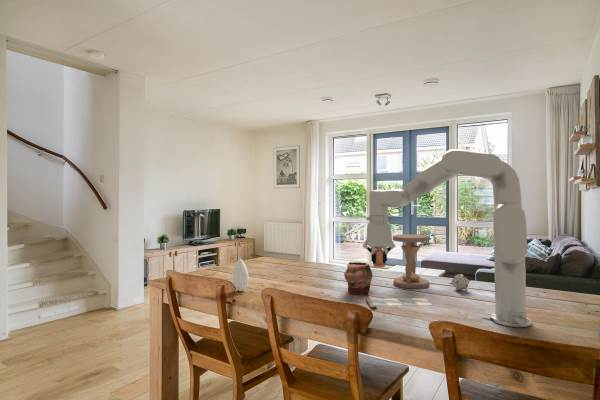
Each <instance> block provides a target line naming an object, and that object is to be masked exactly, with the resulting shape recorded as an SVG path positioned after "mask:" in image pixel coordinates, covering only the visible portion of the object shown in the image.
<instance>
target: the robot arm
mask: <svg viewBox="0 0 600 400" xmlns="http://www.w3.org/2000/svg"><path fill="white" fill-rule="evenodd" d="M458 175H464V176H468V177H469V176H471V177H477V178H482V179H486V180H488V181H490V183H491V186H492V194H493V195H492V196H493V211H492V223H493V225H492V226H493V242H494V243H493V251H494V252H493V253H494V255H493V257H494V312H493V313H491V314H490V320H491V321H492V322H494V323H496V324H498V325H502V326H506V327H514V328H527V327H529V326H531V325H532V320H531V318H529V317H527V295H526V292H527V290H526V289H527V288H526V285H527V284H526V278H527V277H526V274H527V273H526V257H527V253H528V233H527V218H526V217H527V216H526V213H525V211H524V209H523V206H522V205H523V204H522V194H521V191H522V190H521V184H520V179H519V176H518V174H517V172H516V170H515V169H514V168H513V167H512V166H511V165H510V164H508V163H507V162H505V161H504V160H502V159H501V158H500V156H498V155H496V154H493V153H486V152H478V151H472V150H463V149H449V150H447V151H446V152H444V153H443V155H442V157H441V158H440V159H438V160H437V161H435V162H433V163H432V164H430V165H428V166H427V167H425V168H422V170H420V172H419V173H418V174H417V176H416V177H415V178H413V180H411V181H409V182H408V183H407V184H405V185H403V186H402V187H400V188H394V189H387V190H384V189H372V190H371V191H369V196H368V197H369V198H368V199H369V200H368V201H369V204H368V205H369V215H368V216H366V217H365V220H366V221H369V222H367V228H366V236H365V237H366V239H365V241H364V242H363V245H362V247H363V248H364V249H365V250H367V251H368V252H369V253H370V257H371V259H370V261H371V262H372V264H375V263H376V255H375V250H376V248H375V247H383V249H382V250H383V263H384V264H385V265H386V263H387V262H388V253H390V251H391V250H393V249H395V248H396V245H395V243H394V240H393V236H392V235H393V234H392V227H391V223H390V222H389V210H388V209H389V208H393V209H394V208H398V209H399V208H402V207H406V206H407V205H409V204H411V203H413V202H414V201H416V200H417V199H419V198H421V197H422V196H424V195H425V194H427V193H429V192H431V191H432V190H434V189H436V188H437V187H439V186H441V185H442V184H444V183H446V182H448V181H449V180H451V179H453V178H454V177H456V176H458Z"/></svg>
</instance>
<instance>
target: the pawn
mask: <svg viewBox="0 0 600 400" xmlns="http://www.w3.org/2000/svg"><path fill="white" fill-rule="evenodd" d="M374 252H375V255H376V263H375V264H374V263H372V264H373V265H372V266H373V267H375V268H385V267H386V264H384V263H383V252H384V250H383V247H375V251H374Z"/></svg>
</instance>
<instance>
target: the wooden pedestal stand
mask: <svg viewBox="0 0 600 400" xmlns="http://www.w3.org/2000/svg"><path fill="white" fill-rule="evenodd" d="M392 241H393V242H398V243H405V245H404V244H403V245H400V247H401V249H402V251H403V252H404V257H405V261H406V264H405V273H403V274H402V275H401V276H400V277H396V278H394V279H393V285H394V286H395V287H398V288H402V289H403V288H404V289H410V290H419V289H426V288H429V287H430V280H428V279H426V278H423V277H421V275H419V274H417V273H416V270H417V262H416V255H417V253H418V252H419V250H420V248H421V246H420V245H416V243H426V242H428V241H429V236H428V235H424V234H410V233H409V234H403V233H402V234H395V235H393V236H392Z"/></svg>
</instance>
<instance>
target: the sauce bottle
mask: <svg viewBox="0 0 600 400" xmlns="http://www.w3.org/2000/svg"><path fill="white" fill-rule="evenodd" d="M231 279H232V285H233V284H234V285H235V287H236V289H235V290H236V291H237V290H243V289H244V290H246V289H247V287H248V285H249V279H250V278H249V272H248V268H247V266H246V263H244V261H243V259H241V256H239V259H238V260H237V262H236V263H235V265H234V267H233V269H232V275H231ZM244 290H243V291H244Z"/></svg>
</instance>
